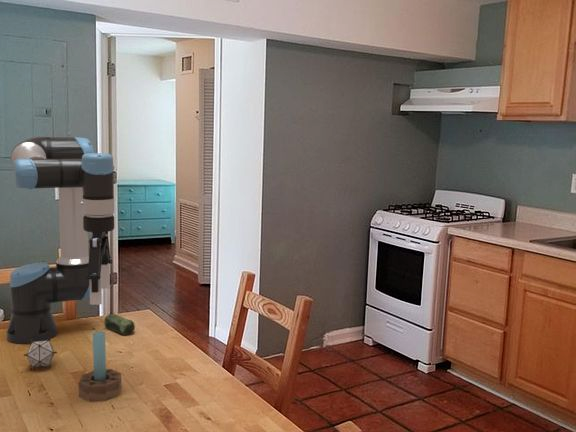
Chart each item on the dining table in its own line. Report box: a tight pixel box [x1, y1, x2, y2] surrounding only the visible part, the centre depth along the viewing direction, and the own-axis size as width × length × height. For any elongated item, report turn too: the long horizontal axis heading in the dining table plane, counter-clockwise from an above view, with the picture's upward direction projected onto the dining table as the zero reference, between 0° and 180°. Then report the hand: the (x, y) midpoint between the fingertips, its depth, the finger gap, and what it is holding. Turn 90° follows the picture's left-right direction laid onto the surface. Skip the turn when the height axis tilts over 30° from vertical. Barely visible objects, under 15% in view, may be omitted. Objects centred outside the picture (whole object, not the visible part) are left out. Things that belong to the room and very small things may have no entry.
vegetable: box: [104, 313, 136, 336], centre depth 193 cm, size 14×5×5 cm, turn 51°
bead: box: [78, 368, 122, 402], centre depth 148 cm, size 10×10×4 cm
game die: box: [23, 338, 58, 371], centre depth 162 cm, size 9×8×10 cm
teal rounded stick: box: [92, 331, 107, 382], centre depth 147 cm, size 3×3×16 cm
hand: (100, 295), depth 147 cm, fingers open, 13 cm apart
